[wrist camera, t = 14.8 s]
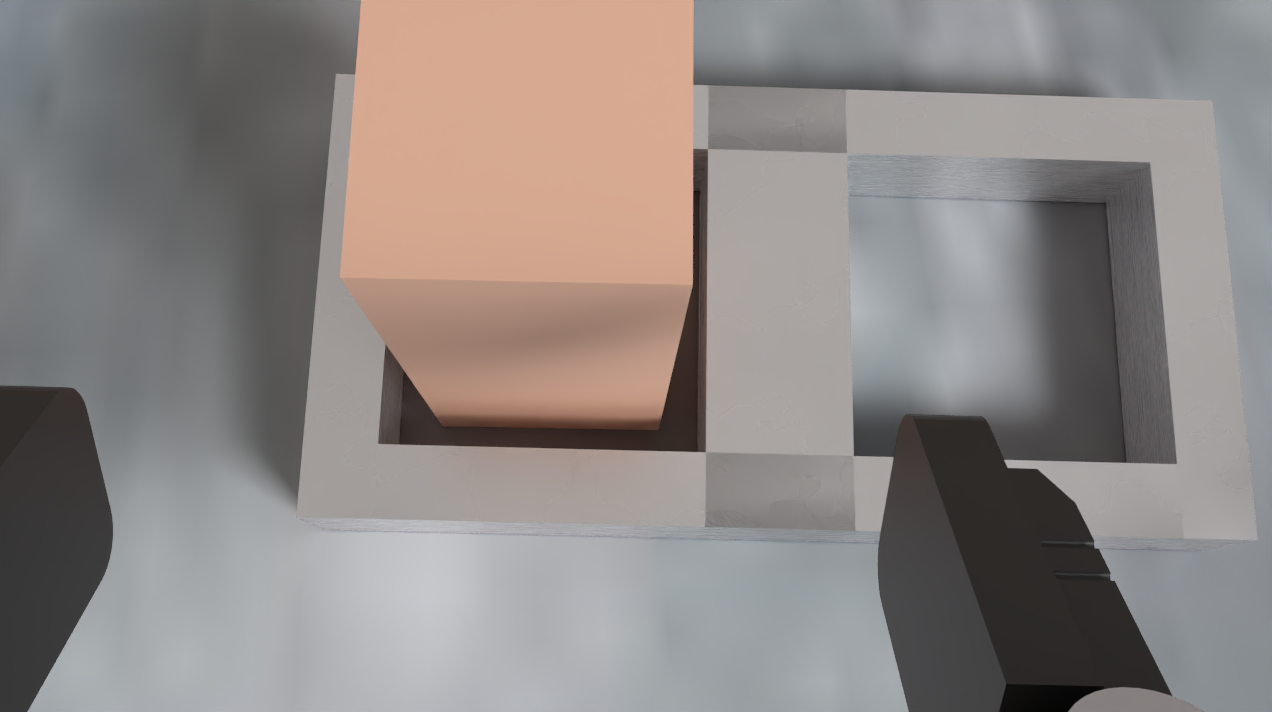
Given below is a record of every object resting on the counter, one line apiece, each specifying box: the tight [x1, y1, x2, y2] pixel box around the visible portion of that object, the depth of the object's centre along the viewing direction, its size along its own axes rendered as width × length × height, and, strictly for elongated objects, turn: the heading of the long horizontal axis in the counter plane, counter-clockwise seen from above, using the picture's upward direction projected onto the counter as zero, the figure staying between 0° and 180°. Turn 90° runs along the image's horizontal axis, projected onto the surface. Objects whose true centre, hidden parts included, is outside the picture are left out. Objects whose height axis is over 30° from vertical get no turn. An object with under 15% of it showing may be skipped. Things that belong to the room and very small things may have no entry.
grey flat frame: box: [296, 74, 1258, 551], centre depth 22 cm, size 16×8×2 cm, turn 89°
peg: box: [340, 0, 693, 430], centre depth 19 cm, size 4×4×9 cm
